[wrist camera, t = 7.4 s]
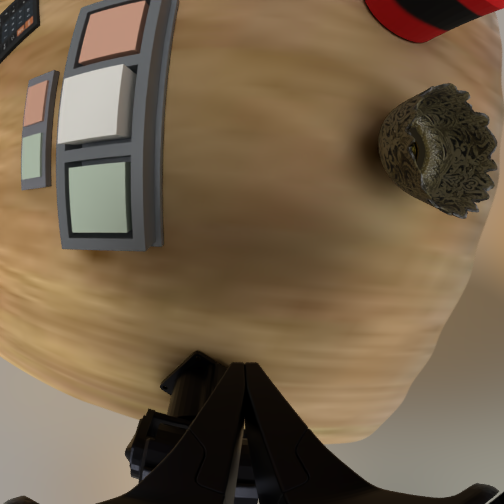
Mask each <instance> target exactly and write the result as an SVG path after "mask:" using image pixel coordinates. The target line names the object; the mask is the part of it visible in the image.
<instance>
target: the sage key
mask: <svg viewBox="0 0 504 504" xmlns="http://www.w3.org/2000/svg"><path fill="white" fill-rule="evenodd" d="M69 194H70V211H71V222H72V232H73V233H127V232H129V231H130V230H132V211H131V162H120V163H108V164H98V165H89V166H81V167H73V168H69Z"/></svg>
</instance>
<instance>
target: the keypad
mask: <svg viewBox="0 0 504 504" xmlns="http://www.w3.org/2000/svg"><path fill="white" fill-rule="evenodd" d="M140 1H146V2H147V4H148V5H149V10H148V14H147V19H146V23H145V28H144V33H143V39H142V44H141V50H140V54H135V55H130V56H124V57H119V58H114V59H110V60H105V61H101V62H97V63H93V64H90V65H86V66H83V65H81V64H80V63H79V58H80V54H81V49H82V45H83V41H84V37H85V33H86V29H87V25H88V22H89V19H90V15H91V14H94V13H97V12H101V11H104V10H107V9H111V8H115V7H119V6H123V5H127V4H131V3H136V2H140ZM178 5H179V0H103V1H100V2H97V3H94V4H91V5H88V6H85V7H82V8H81V10H80V13H79V16H78V20H77V23H76V26H75V30H74V33H73V37H72V41H71V44H70V49H69V53H68V57H67V62H66V67H65V72H64V78H63V84H64V79H65V78H69V77H72V76H75V75H79V74H82V73H86V72H90V71H94V70H98V69H102V68H106V67H111V66H116V65H121V64H124V65H125V66H127V67H128V68H129V69H130V70H131V71H133V72H134V73H135V74H136V75H137V78H136V86H135V95H134V106H133V120H132V137H131V138H122V139H114V140H106V141H98V142H91V143H85V144H78V145H72V144H58V127H59V115H60V105H61V97H62V90H63V84H62V90H61V97H60V105H59V115H58V126H57V144H56V188H57V206H58V218H59V228H60V237H61V244H62V249H80V250H114V251H146V250H147V249H148V248H149V247H150V246H159V247H162V246H163V244H164V239H163V208H162V163H163V133H164V115H165V102H166V90H167V79H168V70H169V62H170V54H171V46H172V39H173V33H174V27H175V21H176V15H177V10H178ZM120 162H131V211H132V230H130V231H129V232H127V233H73V232H72V222H71V211H70V194H69V168H73V167H81V166H89V165H98V164H108V163H120Z"/></svg>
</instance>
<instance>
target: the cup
mask: <svg viewBox="0 0 504 504" xmlns="http://www.w3.org/2000/svg"><path fill="white" fill-rule="evenodd" d="M469 98H470V95H469V93H468V92H466V91H458V90H457V87H456V86H455V85H453V84H451V83H448V84H442V85H438V86H436V87H434V86H432V87H430V88H429V89H427V90H426V91H424V92H422V93H420V94H418V95H416V96H414V97H412V98H410V99H408V100H407V101H405V102H403V103H402V104H400V105H399V106H397V107H396V108H395V109H394V110H392V111H391V112H390V113H389V115H388V116H387V117H386V119H385V120H384V122H383V124H382V127H381V130H380V134H379V140H378V154H379V157H380V159H381V161H382V164H383V166H384V169H385V170H386V172H387V174H388V175H389V177H390V178H391V179H392V181H393V182H394V183H395V184H396V185H397V186H398V187H400V188H401V189H402V190H403V191H405V192H407V193H408V194H410V195H411V196H413V197H415V198H417V199H419V200H421V201H423V202H425V203H427V204H429V205H431V206H433V207H435V208H437V209H439V210H440V211H442V212H444V213H446V214H448V215H454V216H456V217H459V218H462V219H465V218H466V217H467V215H466V214H468V213H467V211H471V212H479V209H478V208H477V205H476V204H475V203H474V202H476V203H477V202H478V203H479V202H480V201H484V200H487V199H489V194H488V193H487V192H486V191H489V190H490V189H492V188H493V187H494V182H493V181H492V179H491V178H490V176H489V175H488V174H486V172H489V171H494V170H497V165H496V163H495V162H494V161H493V160H492V159H491V154H492V153H493V152H494V151H495V149H496V147H497V140H496V138H495V137H494V135H493V134H492V132H491V131H490V130H489V129H488V127H487V125H488V124H489V117H488V116H487V115H486V114H484V113H480V112H479V113H478V112H474V111H473V110H472V105H470V104H469V103H467V102H466V101H467V100H468V99H469ZM490 159H491V160H492V161H491V160H490Z"/></svg>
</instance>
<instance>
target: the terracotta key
mask: <svg viewBox="0 0 504 504" xmlns="http://www.w3.org/2000/svg"><path fill="white" fill-rule="evenodd" d="M148 10H149V5H148V4H147V2H146V1H140V2H136V3H131V4H127V5H123V6H119V7H115V8H111V9H107V10H104V11H101V12H97V13H94V14H91V15H90V19H89V22H88V25H87V29H86V33H85V37H84V41H83V45H82V49H81V54H80V58H79V63H80V64H81V65H83V66H86V65H90V64H93V63H97V62H101V61H105V60H110V59H114V58H119V57H124V56H130V55H135V54H140V50H141V44H142V39H143V33H144V28H145V23H146V19H147V14H148Z"/></svg>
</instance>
